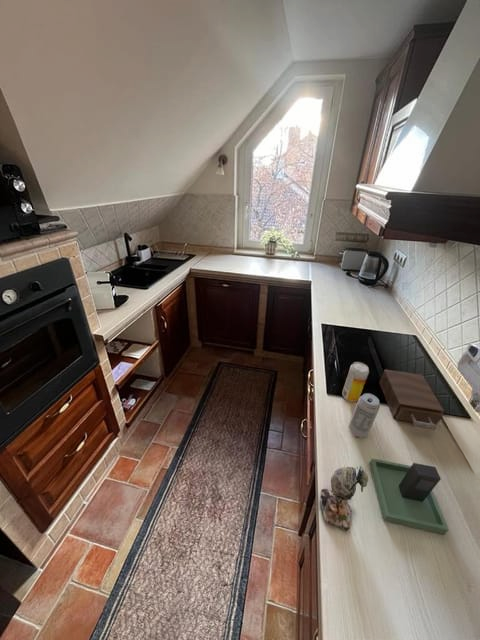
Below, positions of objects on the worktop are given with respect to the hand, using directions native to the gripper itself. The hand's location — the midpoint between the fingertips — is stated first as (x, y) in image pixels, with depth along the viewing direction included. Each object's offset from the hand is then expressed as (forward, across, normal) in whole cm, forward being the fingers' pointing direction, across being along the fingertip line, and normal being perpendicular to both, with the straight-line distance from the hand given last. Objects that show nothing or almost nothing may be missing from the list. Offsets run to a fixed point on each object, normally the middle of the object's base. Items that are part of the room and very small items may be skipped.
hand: (475, 407), depth 65 cm
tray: (+22, -13, +14) cm, 30 cm away
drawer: (+22, +18, +2) cm, 28 cm away
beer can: (+23, +20, +22) cm, 38 cm away
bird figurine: (+23, -19, +32) cm, 44 cm away
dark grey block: (+22, -12, +12) cm, 28 cm away
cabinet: (+23, +22, +2) cm, 32 cm away
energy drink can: (+23, +5, +22) cm, 32 cm away
